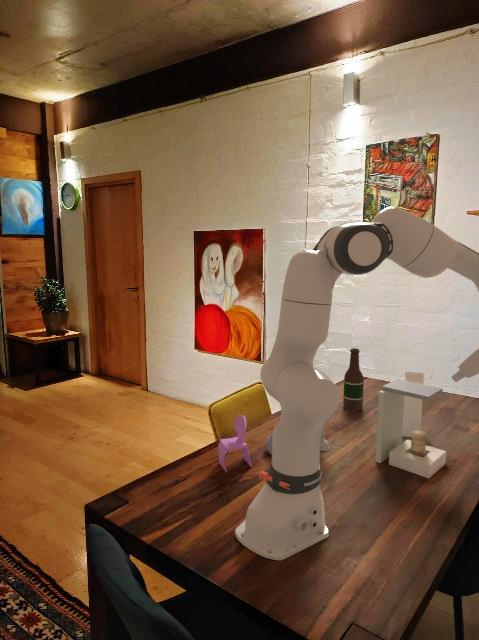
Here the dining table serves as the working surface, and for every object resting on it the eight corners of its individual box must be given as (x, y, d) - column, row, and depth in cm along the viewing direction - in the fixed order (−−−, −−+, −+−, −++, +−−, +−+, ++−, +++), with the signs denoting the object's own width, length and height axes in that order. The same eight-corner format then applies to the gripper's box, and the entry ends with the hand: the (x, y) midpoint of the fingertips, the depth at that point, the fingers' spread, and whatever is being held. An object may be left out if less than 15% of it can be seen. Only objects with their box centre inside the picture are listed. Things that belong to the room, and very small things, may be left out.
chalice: (332, 453, 146) (334, 398, 143) (310, 451, 148) (312, 397, 145) (332, 443, 154) (334, 391, 151) (312, 441, 155) (313, 389, 152)
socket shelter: (427, 479, 130) (432, 400, 126) (375, 461, 141) (379, 387, 137) (446, 462, 140) (452, 388, 136) (396, 446, 151) (400, 377, 147)
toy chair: (216, 461, 141) (215, 414, 139) (243, 456, 145) (243, 410, 142) (225, 474, 134) (224, 424, 131) (253, 468, 137) (253, 420, 134)
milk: (420, 438, 157) (424, 375, 153) (401, 436, 159) (404, 374, 155) (419, 431, 163) (423, 370, 159) (401, 429, 165) (405, 369, 161)
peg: (420, 468, 136) (422, 436, 135) (407, 464, 139) (409, 432, 137) (426, 464, 139) (428, 432, 137) (413, 459, 142) (415, 428, 140)
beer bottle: (339, 405, 189) (341, 347, 185) (356, 403, 191) (358, 346, 187) (349, 411, 182) (351, 352, 178) (366, 409, 184) (369, 350, 180)
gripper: (509, 328, 121) (466, 358, 130) (483, 340, 107) (437, 373, 115) (527, 347, 119) (482, 376, 127) (503, 362, 105) (455, 394, 113)
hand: (461, 375), depth 121 cm, fingers open, 8 cm apart
